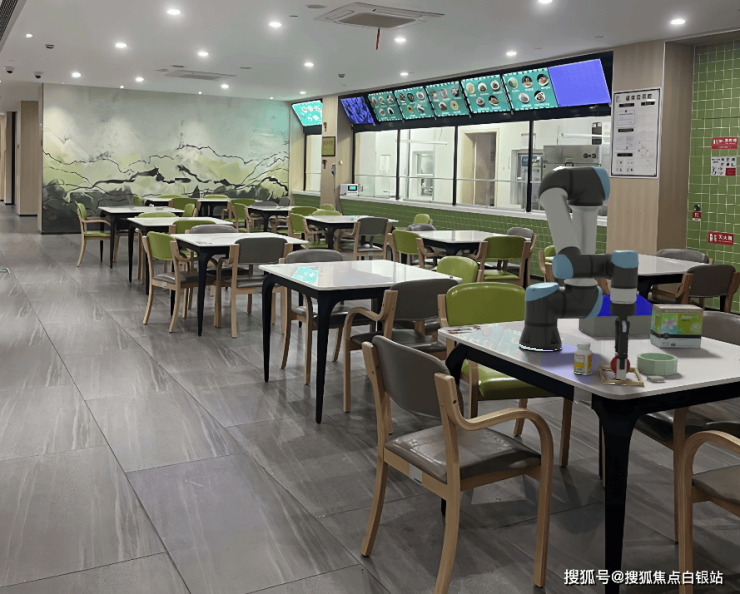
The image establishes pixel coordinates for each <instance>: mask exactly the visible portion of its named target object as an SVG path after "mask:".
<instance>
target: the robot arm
mask: <svg viewBox="0 0 740 594" xmlns="http://www.w3.org/2000/svg"><path fill="white" fill-rule="evenodd" d="M610 195H611V181H610V177H609V173H608V172H607V170H606V169H605V167H601V166H592V165H590V166H589V165H588V166H586V165H584V166H581V165H580V166H558V167H555V168H553V169H551V170H549V171H548V172H547V173H546V174H545V175H544V176H543V178H542V179H541V180H540V183H539V185H538V190H537V198H538V202H539V205H540V206H541V207H542V208H543V209H544V214H545V216H546V221H547V224H548V229H549V232H550V235H551V239H552V244H553V246H554V250H555V251H554V252H555V254H556V255H554V256H553V258H552V261H551V267H552V270H551V271H552V275H553V277H554V278H555V279H559V280H560V279H562V280H563V286H560V284H559V283H558V282H540V283H535V284H531V285H529V286H527V287H526V289H525V293H524V325H523V326H524V327H523V329H522V332H521V334H520V338H519V341H518V345H519V344H521V345H523V346H526V347H530V348H536V349H543V350H555V349H560V348H562V347H563V343H562V338H561V335H560V331H559V328H558V320H570V319H571V320H573V319H576V320H579V319H588V318H594V317H596V316H597V315H598V314H599V312H600V310H601V307H602V302H603V296H604V295H603V289H602V288H601V286H598V281H597V279H600V280H602V279H608V280H610V287H609V289H610V291H609V294H610V300H611V301H612V302H611V303H610V314H611V315H615V316H618V318H616V320H615V336H614V352H615V353H614V357H615V356H616V355H618V356H616V357H615V358H616V359H617V374H615V377H616V379H621V380H624V381H627V374H626V369H627V358H628V359H629V336H628V335H629V327H630V322H629V320H628V319H627V317H628V316H634V315H636V303H634V302H635V301H636V298H637V296H636V294H639V295H640V291H639V290H638V279H639V278H638V277H639V275H638V274H639V265H640V262H639V253H638V252H637V251H636V250H631V249H617V250H616V249H615V250H613V252H612V253H610V252H609V253H603V254H601V253H600V254H596V245H597V229H598V217H599V216H598V215H599V210H601V209H602V207H603V206H604V202H605V201H607V200H608V199H609V198H610ZM567 202H568V203H567ZM569 208H570V209H571V211H572V213H570V210H569ZM616 379H615V380H616Z"/></svg>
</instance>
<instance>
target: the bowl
mask: <svg viewBox="0 0 740 594" xmlns="http://www.w3.org/2000/svg"><path fill="white" fill-rule="evenodd" d="M678 361H679V360H678V357H677V356H675V355H673V354H670V353H664V352H663V353H662V352H641V353H638V354H637V355H636V367H637V369H638V371H640V372H639V373H642V372H643V374H646V373H648V374H647V375H652V374H656V375H655V376H671V375H673V376H674V375H676V374H677V373H678Z"/></svg>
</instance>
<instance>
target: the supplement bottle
mask: <svg viewBox="0 0 740 594" xmlns="http://www.w3.org/2000/svg"><path fill="white" fill-rule="evenodd" d="M576 347H577V348H576V349H575V350H574V352H573V353H574V354H573V355H574V356H573V357H574V358H573V360H574V361H573V373H574V372H576V373H580V374H590V375H592V374H591V373H593V372H592V371H593V350H591V343H590V341H589V342H588V341H579V342H577V343H576Z"/></svg>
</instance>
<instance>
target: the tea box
mask: <svg viewBox="0 0 740 594" xmlns="http://www.w3.org/2000/svg"><path fill="white" fill-rule="evenodd" d="M704 313H705V312H704V308H701V307H699V306H697V305H694V304H670V303H669V304H667V303H666V304H665V303H664V304H662V303H659V304H658V303H657V304H655V303H654V304H653V303H652V320H651V334H650V335H649V336H650V338H649V343H651V344H652V345H653V346H655V347H657V348H659V349H660V348H683V349H687V348H688V349H701V348H702V346H701V345H702V338H703V337H702V335H703V323H704V321H703V320H704Z"/></svg>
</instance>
